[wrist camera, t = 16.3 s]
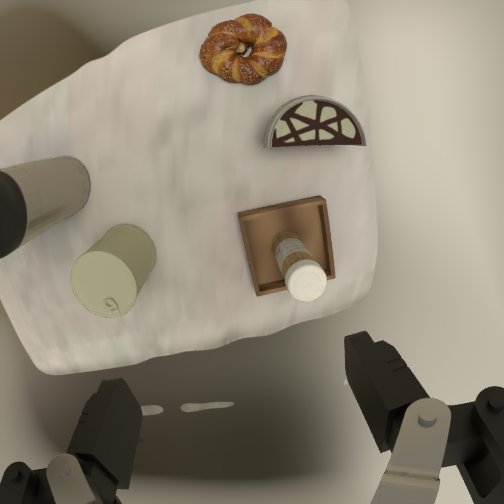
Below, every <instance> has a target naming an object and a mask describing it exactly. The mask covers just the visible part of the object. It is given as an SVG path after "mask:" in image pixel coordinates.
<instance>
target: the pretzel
mask: <svg viewBox="0 0 504 504" xmlns="http://www.w3.org/2000/svg"><path fill="white" fill-rule="evenodd" d="M249 46H251V47H253V50H252V52H251V53H250V55H249V56H248V57H246V58H244V57H242V56H240V55H242V54H244V55H245V52H246V51H247V49H248V48H249ZM286 49H287V42H286V39H285V36H284V35H283V33H282V32H281V31H279V30H278V29H276V28H275V27H272V23H271V22H270V21H269V20H268V19H266V18H265V17H263V16H261V15H257V14H246V15H243V16H240V17H238V18H236V19H235V20H229V21H225V22H221V23H219V24H216V25H215V26H214V27H213V28H212V29H211V31H210V33H209V34H208V37H207V39H206V40H205V42H204V44H203V45H202V47H201V50H200V59H201V62H202V64H203V66H204V67H205V68H206V69H208V70H209V71H210V72H212V73H214V74H217V75H220V76H221V77H222V78H223V79H224V80H226V81H229V82H234V83H236V82H243V83H245V84H256V83H259V82H261V81H262V80H264V79H265V78H266V77H267V76H268V74H274V73H275V72H277V71H278V70H279V69H280V67H281V66H282V63H283V60H284V56H285V52H286Z"/></svg>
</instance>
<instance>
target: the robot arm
mask: <svg viewBox="0 0 504 504" xmlns="http://www.w3.org/2000/svg"><path fill="white" fill-rule="evenodd" d="M89 192H90V180H89V176H88V173H87V170H86V169H85V167H84V166H83V164H82V163H81V162H80V161H78V160H77V159H75V158H73V157H69V156H63V157H57V158H50V159H44V160H39V161H34V162H29V163H24V164H20V165H15V166H11V167H7V168H3V169H0V258H3V257H5V256H7V255H8V254H10V253H11V252H13V251H14V250H16V249H17V248H19V247H20V246H22V245H23V244H25V243H26V242H28V241H29V240H31V239H32V238H34V237H36V236H37V235H39V234H40V233H42V232H44V231H45V230H47V229H49V228H50V227H52V226H54V225H55V224H57V223H59V222H60V221H62V220H64V219H66V218H67V217H69V216H71V215H73V214H74V213H76V212H78V211H79V210H80V209H81V208H82V207H83V206H84V205H85V203H86V202H87V199H88V196H89ZM344 345H345V346H344V347H345V370H346V375H347V379H348V382H349V385H350V387H351V389H352V391H353V393H354V396H355V398H356V400H357V402H358V404H359V406H360V409H361V410H362V413H363V415H364V417H365V420H366V422H367V424H368V426H369V428H370V431H371V433H372V435H373V437H374V439H375V442H376V444H377V446H378V448H379V451H380V453H382V452H385V451H388V450H391V453H392V455H391V458H390V460H389V463H388V466H387V468H386V471H385V472H384V474H383V476H382V479H381V481H380V483H379V486H378V488H377V490H376V493H375V495H374V497H373V499H372V501H371V504H434V503H435V500H436V497H437V493H438V490H439V485H440V479H439V473H440V469H441V468H442V467H447V466H453V465H456V466H457V467H458V469H459V472H460V474H461V476H462V478H463V480H464V482H465V485H466V487H467V489H468V491H469V493H470V495H471V497H472V500H473V502H474V504H504V388H502V387H498V386H497V387H496V386H493V387H488V388H486V389H484V390H482V391H481V392H480V393H479V394H478V396H477V398H476V400H475V401H474V402H469V403H464V404H458V405H446V404H445V403H444V402H442V401H440V400H438V399H434V398H430V397H429V396H428V394H427V393H426V391H425V390H424V388H423V387H422V385H421V384H420V383H419V381H418V380H417V379H416V377H415V375H414V374H413V373H412V371H411V370H410V368H409V367H407V364H406V363H405V361H404V360H403V359H402V358H401V356H400V354H399V353H398V351H397V350H396V349H395V347H393V346H392V345H390V344H388V343H387V342H385V341H383V340H382V341H378V342H375V343H374V341H373V340H372V338H371V337H370V335H369V334H368V333H367V332H366V331H362V332H359V333H356V334H352V335H348V336H345V338H344ZM78 422H79V423H78V424H77V426H76V429H75V432H74V434H73V436H72V439H71V442H70V445H69V447H68V450H67V453H66V454H61V455H58V456H56V457H55V458H53V459H52V460H51V462H50V463H49V464H48V467H47V468H44V469H38V470H31V469H30V468H29V467H28V466H27V465H26V464H25V463H23V462H15V463H12V464H11V465H9V466H8V468H7V469H6V470H5V472H4V475H3V477H2V480H1V483H0V504H122V503H121V501H120V499H119V498H118V497H117V496H116V490H117V489H129V483H130V478H131V473H132V468H133V462H134V457H135V452H136V447H137V443H138V438H139V433H140V429H141V424H142V410H141V407H140V405H139V403H138V402H137V400H136V398H135V397H134V395H133V394H132V392H131V390H130V388H129V387H128V385H127V383H126V382H125V381H124V379H122V378H115V379H105V380H103V381H102V382H101V384H100V386H99V389H98V391H97V393H94V394H93V395H92V396H91V397H90V399H89V400H88V401H87V402H86V404H85V406H84V409H83V411H82V415H81V416H80V418H79V421H78Z"/></svg>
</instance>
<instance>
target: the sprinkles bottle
mask: <svg viewBox="0 0 504 504" xmlns="http://www.w3.org/2000/svg"><path fill="white" fill-rule="evenodd" d="M272 251H273V253H274V255H275V257H276V260H277V263H278V265H279V268H280V270H281V272H282V275H283V276H284V278H285V284H286V287H287V289H288V291H289V293H290V295H291V296H292V297H293V298H295V299H296V300H299V301H303V302H307V301H312V300H314V299H316V298H318V297H319V296H320V295H321V294H322V293H323V292H324V290H325V288H326V285H327V277H326V274H325V272H324V270H323V269H322V267H321V266H320V265H319V264H318V263H317V262H315V260H314V259H313V257H312V255H311V254H310V252H309V251H308V249H307V248H306V247H305V245H304V244H303V243H302V242H301V240H300V238H299V237H298V236H297V235H296V234H295V233H293V232H282V233H280V234H279V235H277V236H276V237H275V239H274V240H273V243H272Z"/></svg>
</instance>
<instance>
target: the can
mask: <svg viewBox="0 0 504 504" xmlns="http://www.w3.org/2000/svg"><path fill="white" fill-rule="evenodd" d="M155 260H156V252H155V247H154V245H153V242H152V240H151V239H150V237H149V236H148V235H147V234H146V233H145V232H144V231H143V230H141V229H140V228H138V227H135V226H132V225H118V226H115V227H113V228H111V229H110V230H109V231H108V232H107V233H106V234H105V235H104V237H102V238H101V239H100V240H99V241H98V242H97V243H96V244H95V245H94V246H92V247H91V248H90V249H89V250H88V251H87V252H86V253H84V254H83V255H81V256H80V257H79V258H78V259H77V260H76V261H75V263H74V265H73V267H72V271H71V285H72V289H73V292H74V294H75V296H76V298H77V299H78V301H79V302H80V303H81V304H82V305H83V306H84V307H85V308H86V309H87V310H88V311H90V312H92V313H93V314H95V315H98V316H101V317H106V318H115V317H119V316H122V315H124V314H126V313H127V312H128V311H129V310H130V309H131V308H132V307H133V305H134V303H135V301H136V298H137V295H138V293H139V291H140V289H141V287H142V285H143V283H144V281H145V280H146V278H147V276H148V274H149V273H150V272H151V270H152V269H153V267H154V264H155Z"/></svg>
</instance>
